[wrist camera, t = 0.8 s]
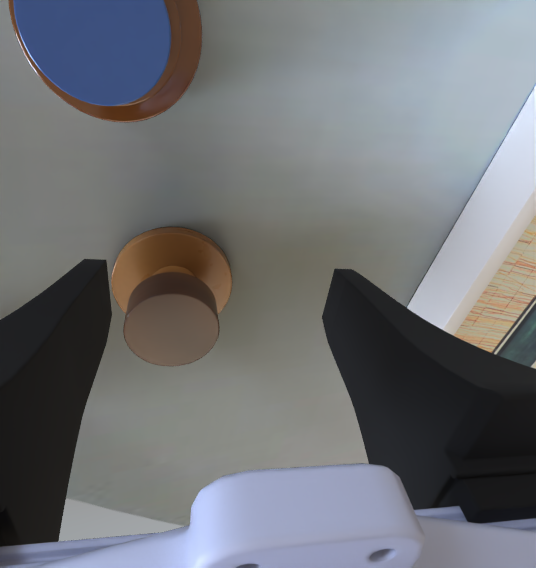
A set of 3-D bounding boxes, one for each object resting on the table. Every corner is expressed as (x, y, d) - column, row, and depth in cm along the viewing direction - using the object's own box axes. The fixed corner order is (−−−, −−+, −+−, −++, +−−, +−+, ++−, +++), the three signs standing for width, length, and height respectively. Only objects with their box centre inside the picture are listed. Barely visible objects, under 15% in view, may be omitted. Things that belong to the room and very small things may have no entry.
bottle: (101, 125, 19) (65, 172, 13) (10, -30, 15) (-97, -64, 9) (220, 72, 18) (239, 95, 12) (154, -97, 15) (138, -177, 9)
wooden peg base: (150, 339, 26) (147, 372, 23) (88, 255, 22) (76, 285, 20) (247, 298, 26) (254, 328, 23) (201, 207, 22) (204, 231, 19)
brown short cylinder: (155, 353, 23) (153, 378, 21) (110, 293, 20) (103, 317, 18) (229, 322, 23) (233, 345, 21) (193, 257, 20) (194, 278, 18)
